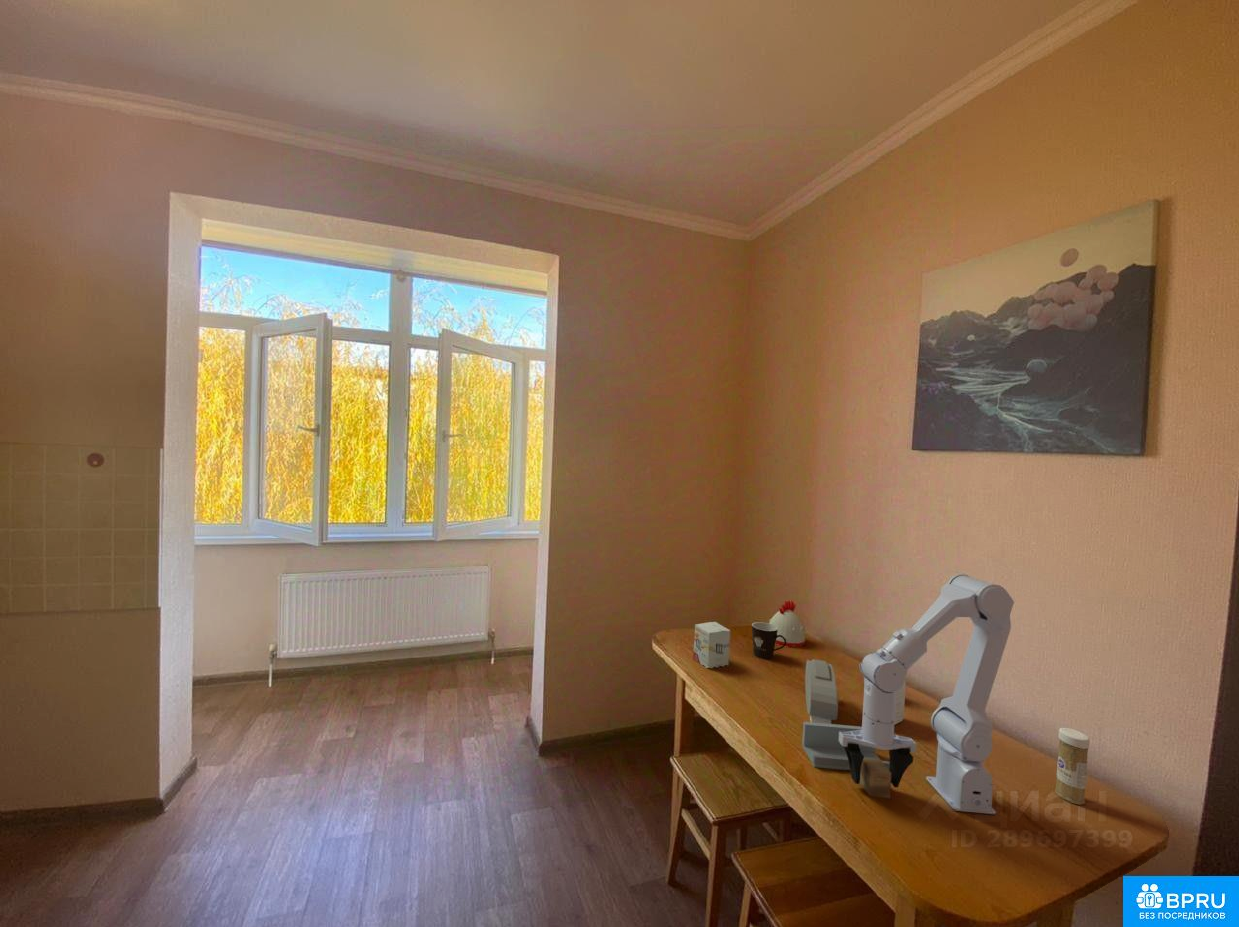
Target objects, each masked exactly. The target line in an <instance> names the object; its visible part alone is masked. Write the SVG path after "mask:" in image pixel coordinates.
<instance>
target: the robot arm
mask: <svg viewBox="0 0 1239 927" xmlns="http://www.w3.org/2000/svg"><path fill="white" fill-rule="evenodd" d="M940 589H941V590H940V595H939V596H938V597H937V599H936V600H935V601H934V603H932V605H930V607H929V608H928V609H927V610H926V611H925V612H924V614H922V616H921V617H920V618H919V619H918V620H917V621H916V623H915V624H914V625H913V626H912V627H911V628H900V629H899V630H895V632H893V633H892V637H891V638H890V639H889V640H888V641H887V642H886V643H885V644H884V645H883V646H882V647H881V648H878V649H877V650H876V652H872V653H869V654H867V655H866V656H864V658H863V659H862V661H861V663H858V665H859V666H858V667H859V671H860V673H861V675H862V676H863V685H864V686H863V703H862V718H861V720H862V722H861V727H862V730H856V731H849V732H839V742H840V744H841V745H842V746H844V749H845V751H846V754H847V757H848V761H849V764H850V770H849V771H850V776H851V779H852V780H853V782H854V783H855V784H857V785H860V784H861V783H860V772H861V765H862V761H863V758H864V756H863V754H862V753H861V752H860V748H859V746H865V747H873V748H875V749H876V750H882V751H888V752H889V763H890V768H889V771H890V772H891V785H892V786H893V787H894V788H898V787H899V786H900V782H901V779H902V778H903V775H904V774H905V772H906V770H907V769H908V767H910V766H911V764H913V763H914V756H913V755H912V754H911V753H917V743H916V742H915V740H913V739H912V738H911V737H906V736H901V735H897V734H895V725H894V723H895V705H896V690H898V689H899V688H901V687H902V686H903V684H904V681H905V682H906V676H907V674H908V671H909V669H910V668H912V667H913V666H914V664H916V662H918V661H919V660H920V659H921V658H922V657H923V656H924V655H925V654H926V653H928V644H927V643H928V641H930V640H931V639H933V637H935V635H937V634H939V633H940V632H942V630H943V629H945V627H947V626H948V625H949V624H951V623H952V622H953V621H955V620H956V619H957V618H969V619H970V620H971V621H972V623H973V625H974V626H973V630H972V633H971V636H970V639H969V643H968V646H967V649H966V652H965V656H964V659H963V662H962V664H961V668H960V670H959V674H958V678H957V681H956V685H955V687H954V689H953V690H954V691H953V694H952V695H951V696H949V697H944V698H942V699H941V700H940V704H939V706H937V708H936V710H934V712H933V713H932V715H931V717H930V726H931V728H932V729H933V731H934V732H935V733H936V740H937V742H938V743H937V754H936V755H937V756H936V770H935V771H936V772H935V776H926V777H925V780H926V781H927V782H928V783H929V784H930V785H931V786H932V787H933V789H935V791H936V792H937V793H938V794H939V795H940V796H941V797H942V798H943V799H944V800H945V802H946V803H947V804H948V805H949V806H950V807H951V808H952V809H953V810H954V811H957V812H958V811H959V812H965V813H966V812H967V813H979V814H988V815H997V811H996V810H995V809H994V808H993V793H994V792H993V790H994V789H993V788H994V780H993V778H992V777H993V776H991V774H990V773H989V771H988V770H987V769H986V768H985V766H984V763H983V762H985V760H986V759H987V758H988V757H990V755H991V753H992V751H993V740H992V735H993V730H994V725H992V722H991V721H990V719H989V717H988V715H987V712H986V709H987V706H988V702H989V699H990V696H991V692H992V689H993V686H994V682H995V679H996V677H997V675H998V674H997V673H998V671H999V667H1000V664H1001V661H1002V658H1003V654H1004V651H1005V648H1006V645H1007V641H1008V639H1009V636H1010V632H1011V628H1012V624H1011V623H1012V622H1011V612H1012V611H1013V607H1014V604H1015V601H1014V599H1013V598H1012V596H1011V595H1010V594H1009V592H1008V591H1007V590H1006V588H1004V587H1003V586H1001V585H999V584H995V583H991V582H987V581H984V580H981V579H978V578H975V577H971V576H969V575H968V574H965V573H958V574H955V575H953V576H952V577H951V578H950V579H949V580H948V581H947V582H946V583H944V585H942V586H941V588H940Z"/></svg>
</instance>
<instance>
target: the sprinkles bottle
mask: <svg viewBox="0 0 1239 927" xmlns="http://www.w3.org/2000/svg"><path fill="white" fill-rule="evenodd" d="M1058 740H1059V744H1058V756H1057V757H1058V758H1057V763H1056V764H1057V769H1056V784H1055V786H1056V787H1055V788H1054V791H1055V793H1056V794H1057V796H1059V797H1060V798H1061V799H1063V800H1064V801H1066V802H1068V803H1072V804H1074V805H1085V804H1086V799H1085V798H1086V797H1085V796H1086V788H1087V774H1088V751H1089V748H1090V738H1089V737H1088V736H1087V734H1084V733H1083V732H1082V731H1081V732H1080V731H1078V730H1076V729H1073V728H1067V727H1060V728H1059V729H1058Z"/></svg>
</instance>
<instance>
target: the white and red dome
mask: <svg viewBox="0 0 1239 927" xmlns="http://www.w3.org/2000/svg"><path fill="white" fill-rule="evenodd" d="M795 608H796V603H794V600H787V601H785V600H784V604H781V608H780V607H779V608H778V609H779V610H778V611H777V612H776V613H775V614H774V615H773V616H772V618H769V620H768V623H769V624H772V625H775V626H776V627H777V628H778V631H777V635H782V636H783V637H784V638H785V639H786V645H785V646H788V647H787V648H791V647H797V648H801V647H800V646H802V645H804V644H806V638H805V627H804V626H803V624H802V622H801V620H800V618H799V616H798V615H797V614H796V613H795V612H794V611H795ZM775 643H776V644H775V645H777V644H779V645H778V646H780V645H784V643H785V642H784V639H783V638H782V637H777V639H776V642H775ZM804 646H805V645H804ZM802 647H803V646H802Z"/></svg>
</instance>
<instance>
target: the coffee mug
mask: <svg viewBox="0 0 1239 927" xmlns="http://www.w3.org/2000/svg"><path fill="white" fill-rule="evenodd" d="M751 631H752V650H753V653H752V654H753V656H755V657H756V658H758V659H762V660H771V659H773V658H774V653H775V651H779V650H781V649H783V648H785V647H784V646H785V645H786V639H785V638H784V637H783V636H782V635H777V631H778V628H777V627H776V626H775V625H772V624H769V622H762V621H759V622H758V621H757V622H753V623H752V624H751ZM777 637H782V638H783V639H784V642H785V643H784V645H783V646H779V647H777V648H775V646H776V644H775V642H776V639H777Z"/></svg>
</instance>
